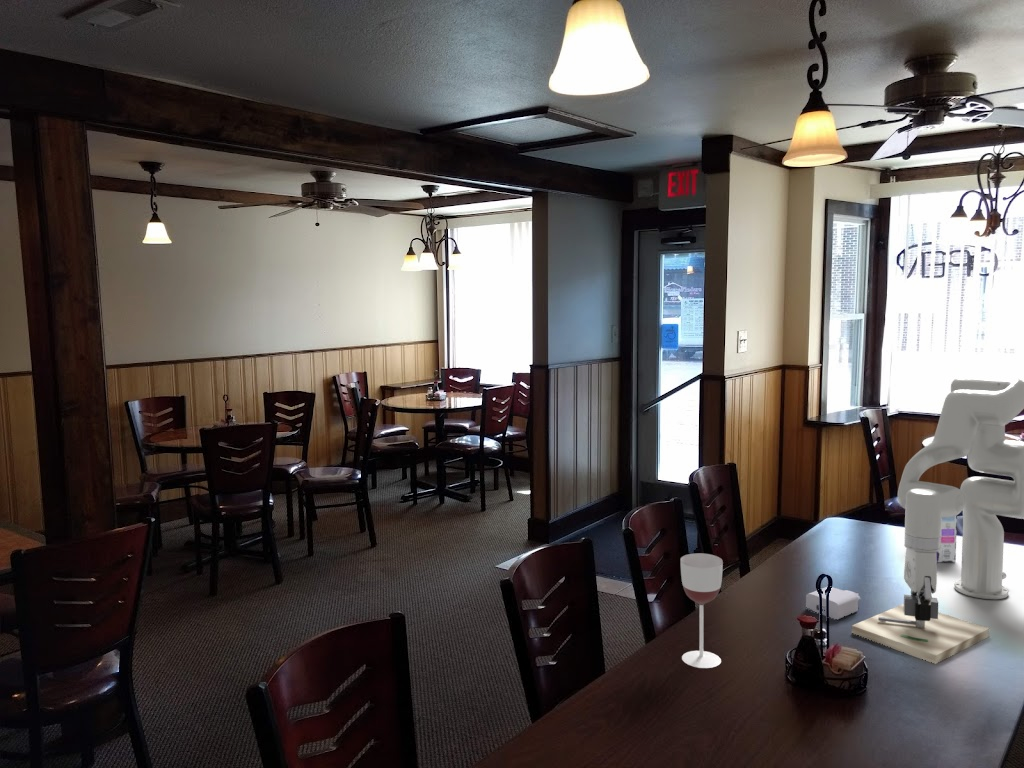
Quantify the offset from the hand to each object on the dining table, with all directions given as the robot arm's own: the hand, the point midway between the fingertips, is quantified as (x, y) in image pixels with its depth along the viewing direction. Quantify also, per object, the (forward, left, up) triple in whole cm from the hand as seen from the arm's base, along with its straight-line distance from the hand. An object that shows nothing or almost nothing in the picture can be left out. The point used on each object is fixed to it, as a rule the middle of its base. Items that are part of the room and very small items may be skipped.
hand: (920, 615), depth 183 cm
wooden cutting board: (0, 0, -5) cm, 5 cm away
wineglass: (+51, -22, -5) cm, 56 cm away
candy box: (-60, -28, -5) cm, 66 cm away
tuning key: (+2, -2, -3) cm, 4 cm away
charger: (0, -21, -5) cm, 22 cm away
